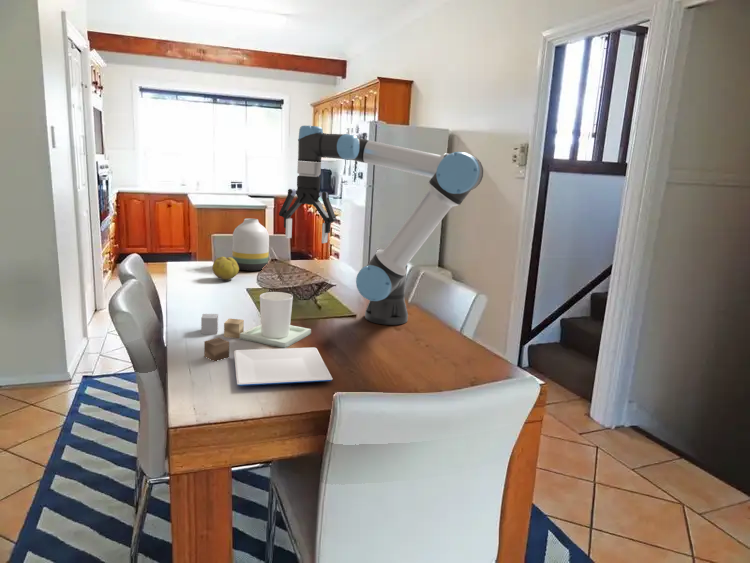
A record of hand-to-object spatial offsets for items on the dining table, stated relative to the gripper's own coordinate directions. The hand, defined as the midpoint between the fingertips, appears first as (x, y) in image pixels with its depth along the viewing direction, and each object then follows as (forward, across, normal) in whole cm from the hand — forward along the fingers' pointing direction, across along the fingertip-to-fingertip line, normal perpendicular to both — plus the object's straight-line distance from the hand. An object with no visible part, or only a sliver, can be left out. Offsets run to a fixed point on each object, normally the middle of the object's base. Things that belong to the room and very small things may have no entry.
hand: (306, 240), depth 174 cm
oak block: (+27, +8, +28) cm, 40 cm away
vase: (+27, +60, -56) cm, 86 cm away
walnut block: (+27, +1, +45) cm, 52 cm away
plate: (+27, -18, +44) cm, 55 cm away
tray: (+27, -3, +22) cm, 35 cm away
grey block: (+27, +16, +29) cm, 43 cm away
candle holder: (+26, -3, +22) cm, 34 cm away
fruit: (+27, +55, -30) cm, 68 cm away
